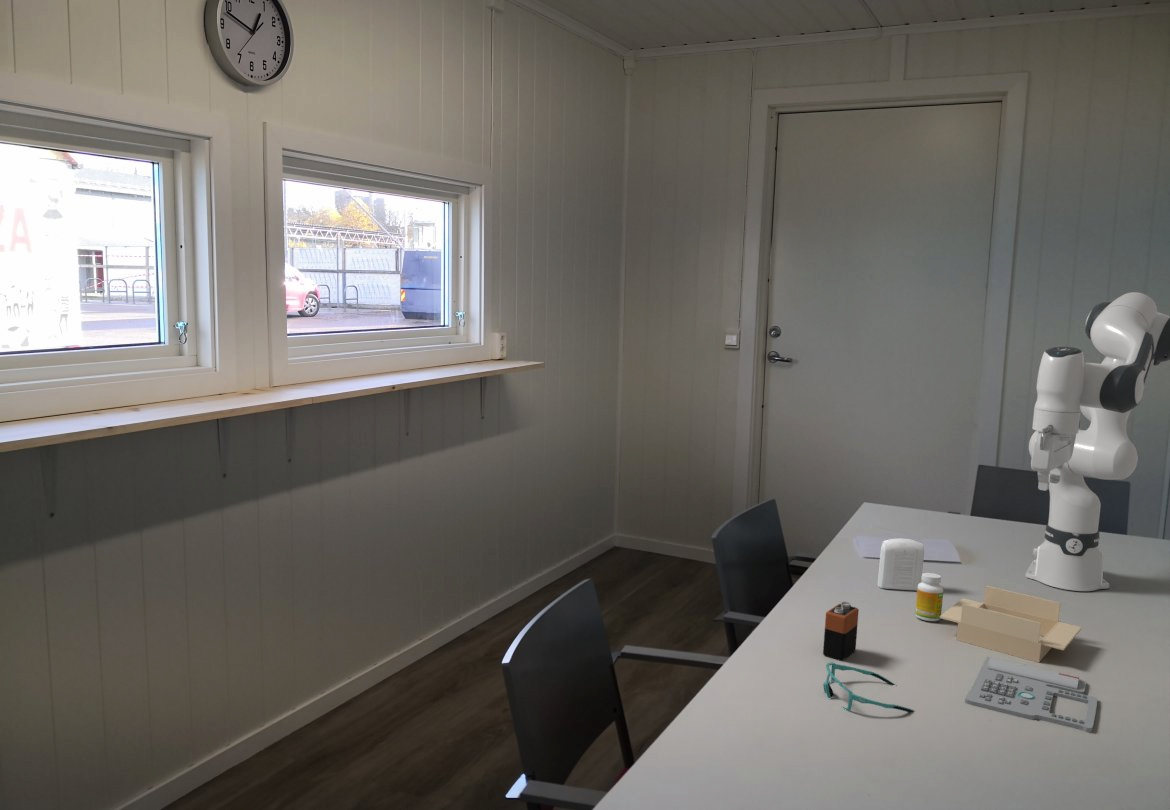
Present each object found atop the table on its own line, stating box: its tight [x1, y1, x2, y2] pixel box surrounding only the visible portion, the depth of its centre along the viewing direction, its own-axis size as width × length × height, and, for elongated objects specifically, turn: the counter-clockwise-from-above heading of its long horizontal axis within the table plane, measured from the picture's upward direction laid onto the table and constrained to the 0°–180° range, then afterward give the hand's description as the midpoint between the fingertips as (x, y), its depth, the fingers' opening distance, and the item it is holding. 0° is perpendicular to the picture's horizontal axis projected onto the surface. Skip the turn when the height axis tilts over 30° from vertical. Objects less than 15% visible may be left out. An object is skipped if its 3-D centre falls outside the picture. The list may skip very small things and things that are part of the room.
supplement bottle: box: [914, 572, 944, 622], centre depth 202 cm, size 5×5×10 cm
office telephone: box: [964, 656, 1098, 734], centre depth 167 cm, size 23×3×20 cm
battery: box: [822, 601, 860, 661], centre depth 182 cm, size 4×7×10 cm, turn 142°
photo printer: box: [877, 537, 925, 591], centre depth 222 cm, size 10×4×12 cm, turn 86°
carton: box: [940, 585, 1083, 663], centre depth 191 cm, size 16×24×8 cm, turn 50°
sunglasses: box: [823, 661, 915, 713], centre depth 164 cm, size 14×15×5 cm
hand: (1049, 486), depth 197 cm, fingers open, 8 cm apart
